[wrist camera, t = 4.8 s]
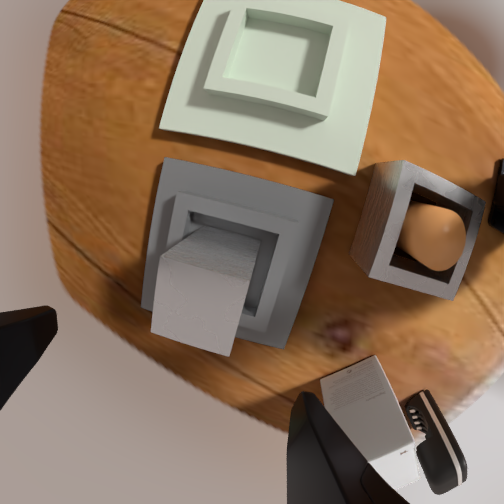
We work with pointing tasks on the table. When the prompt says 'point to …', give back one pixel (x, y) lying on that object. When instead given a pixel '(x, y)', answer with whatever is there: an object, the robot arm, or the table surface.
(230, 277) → the steel peg
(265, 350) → the table surface
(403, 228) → the tan egg
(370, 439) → the small box
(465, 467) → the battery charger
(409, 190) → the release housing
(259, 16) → the pale green socket
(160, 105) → the table surface
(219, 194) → the charcoal socket
